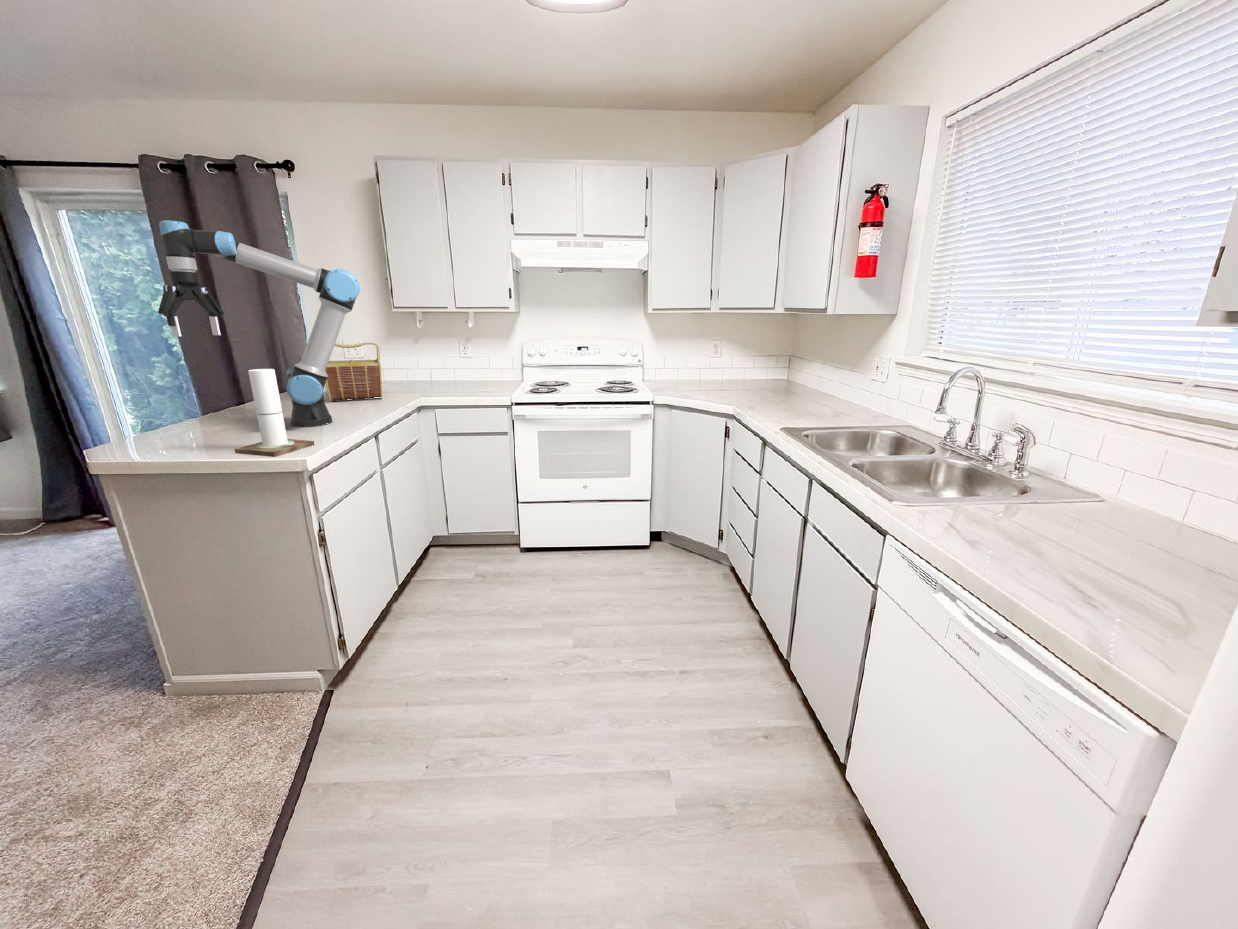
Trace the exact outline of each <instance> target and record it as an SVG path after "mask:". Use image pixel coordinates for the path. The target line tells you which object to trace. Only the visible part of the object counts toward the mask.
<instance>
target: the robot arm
mask: <svg viewBox="0 0 1238 929" xmlns="http://www.w3.org/2000/svg"><path fill="white" fill-rule="evenodd" d="M158 226H159V230H160V238H161V242H162V245H163V246H162V247H163V249H164V254H165V259H166V264H167V267H168V269H169V270H171V271H170V272H169V277H170V281H171V283H172V284H173V285H170V284H168V285H167V284H166V285H165V284H164V285H163V286H162V288H163V293H162V297H161V300H160V303H159V306H158V307H159V308H158V311H157V313H158V314H159V315H162V316H164V317H166V321H167V326H168V327H170V328H171V333H172V337H182V333H181V328H180V324H179V320H178V318H179V317H178V316H175V314H176V313H177V311H178V310H179V308H180V307H181V305H182V303H183V302H185V301H195V302H197V303H198V304H199V305H200V306H201V307H202V308H203V309H204V311H206V312H207V313H208V314H209V315H210V316H208V318H209V324H210V328H211V333H212V336H222V335H221V330H220V325H221V323H220V322H221V321H220V317H221V316H223V315H224V311H223V310H222V307H221V306H220V305H219V303H218V302H217V300H216V298H215V297H214V296H213V295H212V291H211V289H210V287H208V286H207V287H205V286H202V287H200V283H201V280H200V276H199V273H198V272H197V271H198V266H197V261H196V258H195V254H199V255H200V254H202V255H204V254H205V255H212V256H214V257H215V258H218V259H221V260H226V261H229V262H231V263H235V264H239V265H241V266H244V267H248V268H250V269H253V270H256V271H259V272H262V273H265V274H268V275H272V276H275V277H277V278H280V279H284V280H287V281H290V282H293V283H296V284H298V285H299V284H300V285H303V286H305V287H308V288H312V289H313V290H314V291H315V293H319V295H318V299H319V301H320V303H321V304H320V307H319V310H318V312H317V314H316V315H317V316H316V317H315V321H314V323H313V327H312V328H311V332H310V335H309V338H308V340H307V343H306V346H305V349H304V352H303V355H302V358H301V360H300V361H299V362H298V363H295V364H294V366H293V368H288V369H287V370H286V377H287V383H286V388H285V389H286V394H287V395H288V397H289V398H290V400H291V405H292V407H291V408H292V410H291V417H290V418H289V422H290V426H292V425H293V426H292V427H296V426H309V427H316V426H315V425H319V426H323V425H322V424H325V425H327V424H326V423H329V424H331V423H333V417H332V415H331V414H330V411H329V409H328V406H326V405H327V404H326V402H325V396H324V390H325V389H324V388H325V387H326V384H325V383H326V380H327V378H328V375H327V373H326V371H325V370H326V367H327V364H328V362H329V361H330V358H331V356H332V354H333V349H334V347H335V346H334V345H335V343H336V342H337V339H338V336H339V334H340V330H341V328H342V325H343V323H344V320H345V316H346V315H347V314H348V313H351V312H352V310H353V308H354V305H355V302H356V299H357V298H358V296H359V295H360V290H361V285H360V282H359V280H358V278H356V276H355V275H354V274H353V273H351V272H350V271H348V270H345V269H341V268H336V269H331V270H329V269H325V268H322V267H320V268H314V267H313V266H309V265H305V264H303V263H300V262H297V261H294V260H292V259H287V258H285V257H282V256H279V255H276V254H274V253H271V252H267V251H265V250H262V249H259V248H256V247H253V246H250V245H247V244H244V243H242V242H239V241H235V238H234V234H232V233H231V232H227V231H221V230H204V229H203V230H202V229H192V228H190V227H189V225H188V223H186V222H184V221H180V220H179V221H177V220H168V219H167V220H160V221H159V224H158ZM174 293H175V295H174Z"/></svg>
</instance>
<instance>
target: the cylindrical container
mask: <svg viewBox="0 0 1238 929" xmlns="http://www.w3.org/2000/svg"><path fill="white" fill-rule="evenodd" d="M248 377H249V381H250V387H251V393H252V397H253V402H254V407H255V411H256V417H257V422H258V427H259V432H260V438H261V442H262V443H263V446H280V445H284V444H287V443H288V441H287V439H288V436H287V431H286V426H285V425H286V424H285V419H284V414H283V409H282V408H283V407H282V403H281V397H280V392H279V386H278V382H277V375H276V371H275V369H274V368H255V369H249V370H248Z"/></svg>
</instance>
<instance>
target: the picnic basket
mask: <svg viewBox="0 0 1238 929" xmlns="http://www.w3.org/2000/svg"><path fill="white" fill-rule="evenodd" d="M364 345H374V346H375V347H376V359H359V360H358V359H357V360H356V359H355V360H353V359H350V360H329V362H328V364H327V367H326V370H325V371H326V373H327V375H328V378H327V380H326V383H325V387H326V391H327V395H328V400H329V402H330V401H332V402H338V401H337V400H344V401H348V400H347V399H361V400H366V399H365V398H374V397H382V398H383V386H382V384H383V383H382V382H383V381H382V363H381V360H380V346H379V344H377V342H376V343H375V342H360V343H356V344H341V343H336V342H335V345H334V347H337V348H344V349H348V348H349V349H354V348H360V347H362V346H364Z"/></svg>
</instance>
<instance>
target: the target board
mask: <svg viewBox="0 0 1238 929" xmlns="http://www.w3.org/2000/svg"><path fill="white" fill-rule="evenodd" d="M287 441H288V443H287V444H284V445H280V446H263V443H262V441H260V442H256V443H252V444H248V445H244V446H241V447H237V448H234V453H235V454H238V455H239V454H241V455H251V456H263V457H271V458H272V457H274V458H276V457H280V456H282V455H286V454H290V453H293V452H295V451H296V452H297V451H299V449H300V450H302V449H301V448H303V449H307V448H310V447H313V446H315V440H306V439H304V440H303V439H291V438H287ZM312 445H313V446H312ZM309 446H310V447H309ZM306 447H307V448H306Z"/></svg>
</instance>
